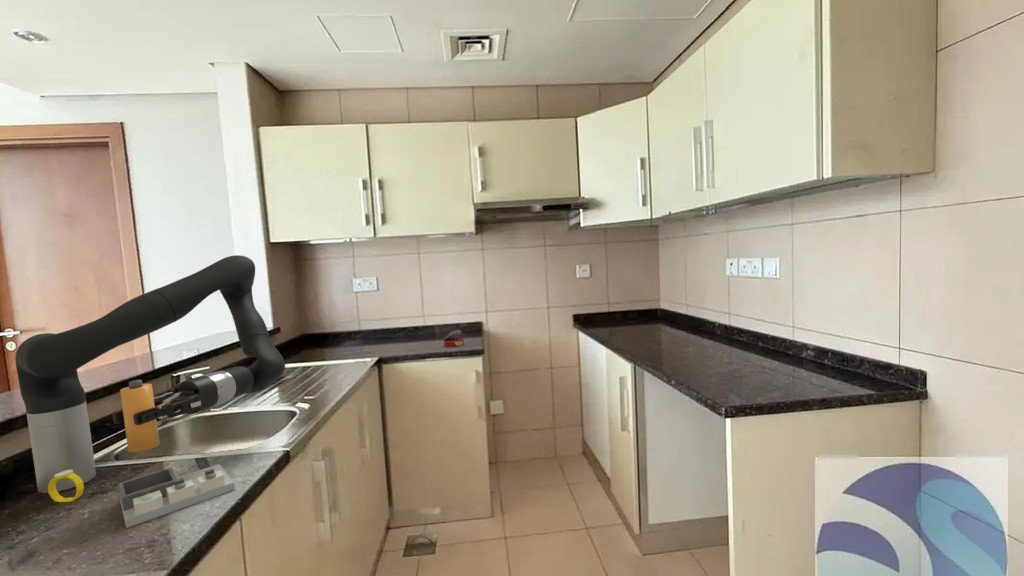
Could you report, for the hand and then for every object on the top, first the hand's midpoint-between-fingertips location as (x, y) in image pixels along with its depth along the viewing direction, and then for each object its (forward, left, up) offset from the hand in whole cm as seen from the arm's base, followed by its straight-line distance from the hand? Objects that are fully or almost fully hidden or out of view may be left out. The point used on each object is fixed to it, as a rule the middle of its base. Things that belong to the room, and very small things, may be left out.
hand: (125, 419), depth 86 cm
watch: (-16, -10, -18) cm, 26 cm away
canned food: (-72, +130, -18) cm, 150 cm away
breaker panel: (+1, +6, -18) cm, 19 cm away
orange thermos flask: (-1, +2, -7) cm, 7 cm away
